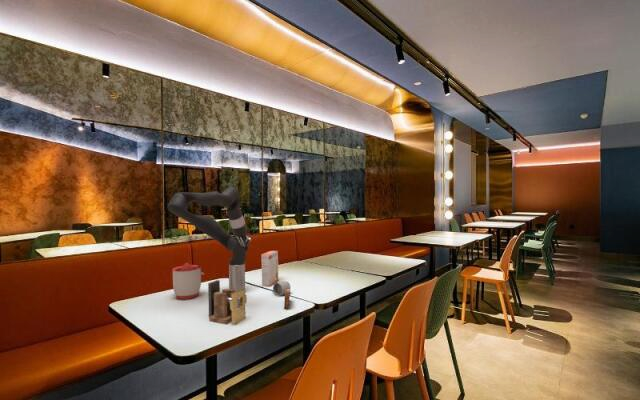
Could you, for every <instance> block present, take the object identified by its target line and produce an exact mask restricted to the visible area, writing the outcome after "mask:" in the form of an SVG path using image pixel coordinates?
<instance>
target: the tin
mask: <svg viewBox="0 0 640 400" xmlns="http://www.w3.org/2000/svg"><path fill="white" fill-rule="evenodd" d="M290 296H291V287H290V288H285V294H284V303H283V304H284V306H283V308H285V309H286V308H287V309H289V308H290V298H291V297H290Z"/></svg>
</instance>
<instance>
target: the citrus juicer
mask: <svg viewBox="0 0 640 400" xmlns="http://www.w3.org/2000/svg"><path fill="white" fill-rule="evenodd" d="M202 275H204V276H205V272H203V271H202V267H201V266H200V267H199V265H197V264H190V263H188V262H185V263H184V264H183V265H180V266H175V267H173V268H172V287H173V289H172V290H173V293H174V295H175V297H176V299H177V300H181V301H183V300H189V299H194V298H196V297H198V296H199V293H200V291H201V286H202Z"/></svg>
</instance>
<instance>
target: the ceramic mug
mask: <svg viewBox="0 0 640 400" xmlns="http://www.w3.org/2000/svg"><path fill="white" fill-rule="evenodd" d="M272 286H273V287H272V293H273V294H274V295H275V296H277V297H281V296H283V295H284V296H285V288H290V289H291V284H290V283H289V281H285V280H284V281H278V282H276V283H275V284H273V285H272Z"/></svg>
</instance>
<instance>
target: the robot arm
mask: <svg viewBox="0 0 640 400" xmlns="http://www.w3.org/2000/svg"><path fill="white" fill-rule="evenodd" d="M193 202H196V203H198V204H199V205H201V206H203V207H204V206H205V207H210V206H212V207H213V206H219V207H226V214H227V218H228V222H229V225H230V229H231V232H232V234H233V235H231V234H230V233H228V232H227V231H226V229H224V228H223V226H222V225H221V224H220V223H219V222H218V220H216V219H214V218H213V217H211V216H209V215H199V214H198V215H197V214H193V213H191V211H188V208H189V206H190V204H191V203H193ZM166 207H167V209H168V211H169V212H170V213H172V214H173V215H174V216H177V217H178V218H180V219H182V220H184V221H185V222H187V223H189V224H191V225H192V226H194V227H195V228H196V229H198V230H199V231H201V232H202V233H203V234H205V235H206V236H208V237H210V238H212V239H213V240H215V241H217V242H218V243H220V244H221V245H222V246H223V247H224V248H225V249H227V250H228V251H229V252H231V254H232V256H231V258H230V259H229V260H228V269H229V270H228V273H229V274H228V275H229V276H228V289H232V290H235V292H236V291H238V290H240V289H245V290H246V259H247V252H248V250H249V245H250V244H251V242H252V240H253V238H252V237H251V236H250V237H249V234H248V231H247V230H248V227H247V225H246V221H245V218H244V216H243V213H242V209H241V200H240V194H239V191H238V190H237V189H236V188H235V187H233V186H229V187H227V188H225V190H223V192H221V193H220V191H217V190H216V191H209V192H185V191H184V192H183V191H182V192H181V191H180V192H176V193H175V194H173V195H172V197H171V199H170V200H169V202H168V204H167V206H166Z"/></svg>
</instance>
